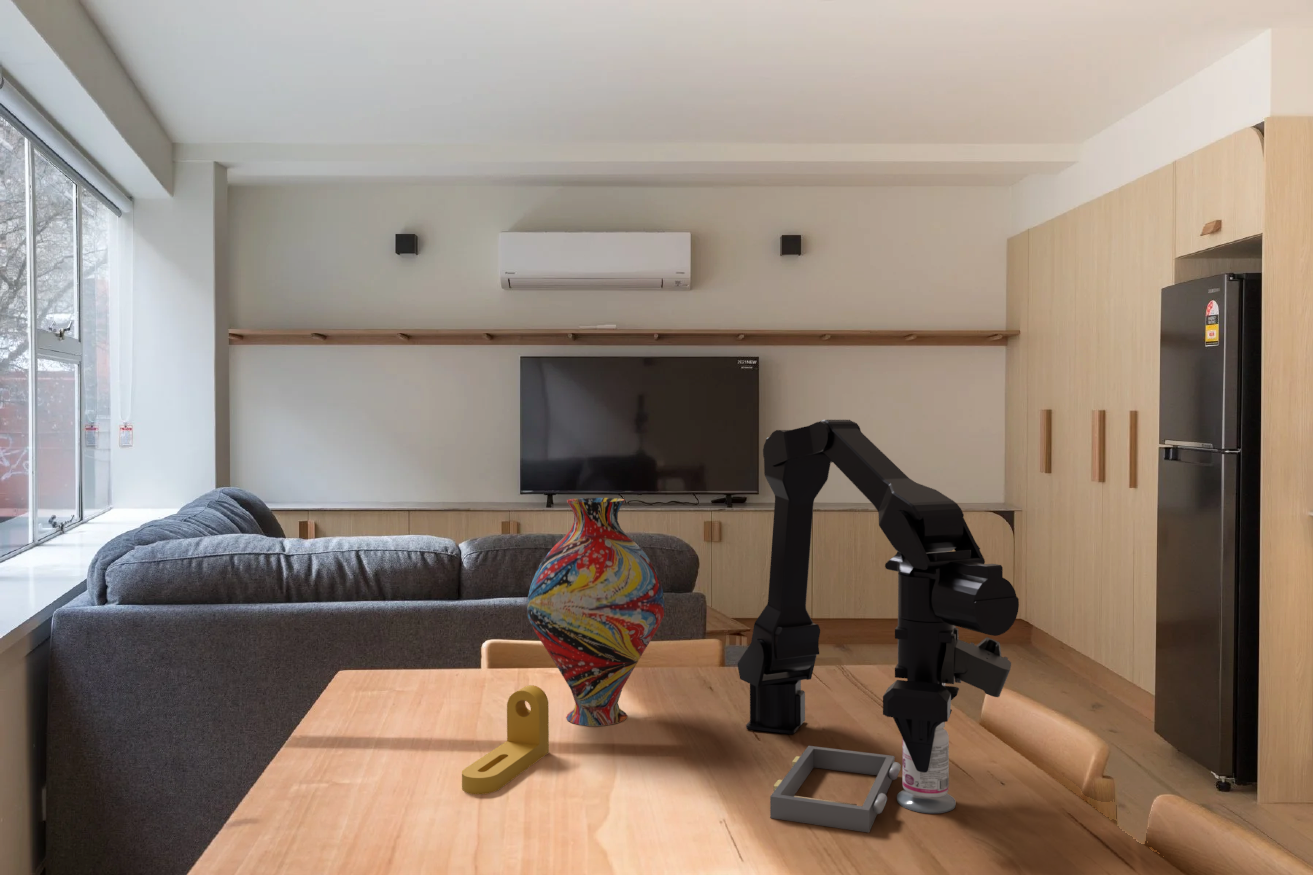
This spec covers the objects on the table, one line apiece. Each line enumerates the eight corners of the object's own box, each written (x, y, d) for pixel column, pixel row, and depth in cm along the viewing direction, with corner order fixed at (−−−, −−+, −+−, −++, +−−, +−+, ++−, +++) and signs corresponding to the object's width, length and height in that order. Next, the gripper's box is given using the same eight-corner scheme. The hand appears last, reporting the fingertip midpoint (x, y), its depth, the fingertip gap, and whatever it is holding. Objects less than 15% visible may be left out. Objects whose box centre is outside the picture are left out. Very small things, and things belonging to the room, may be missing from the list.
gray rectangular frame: (764, 816, 100) (764, 795, 100) (803, 763, 116) (803, 744, 116) (879, 833, 96) (879, 811, 96) (903, 776, 112) (903, 756, 112)
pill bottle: (896, 782, 106) (896, 705, 106) (938, 781, 107) (938, 704, 107) (911, 799, 101) (911, 718, 101) (955, 797, 102) (956, 717, 102)
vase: (501, 729, 130) (500, 503, 129) (567, 692, 147) (566, 493, 147) (632, 745, 123) (631, 507, 122) (684, 705, 140) (684, 496, 140)
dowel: (795, 814, 102) (791, 813, 101) (796, 796, 103) (792, 794, 101) (856, 823, 100) (853, 822, 98) (857, 804, 101) (854, 803, 99)
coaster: (893, 808, 102) (893, 804, 102) (901, 788, 108) (901, 785, 108) (952, 816, 100) (952, 812, 100) (957, 796, 106) (957, 792, 106)
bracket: (516, 750, 122) (516, 683, 122) (548, 753, 121) (548, 686, 120) (454, 792, 108) (453, 717, 108) (489, 797, 106) (489, 721, 106)
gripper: (1002, 641, 92) (1001, 806, 92) (1009, 606, 109) (1009, 745, 110) (882, 632, 96) (881, 790, 97) (907, 600, 114) (907, 734, 114)
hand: (925, 763), depth 104 cm, fingers closed on pill bottle, 5 cm apart
